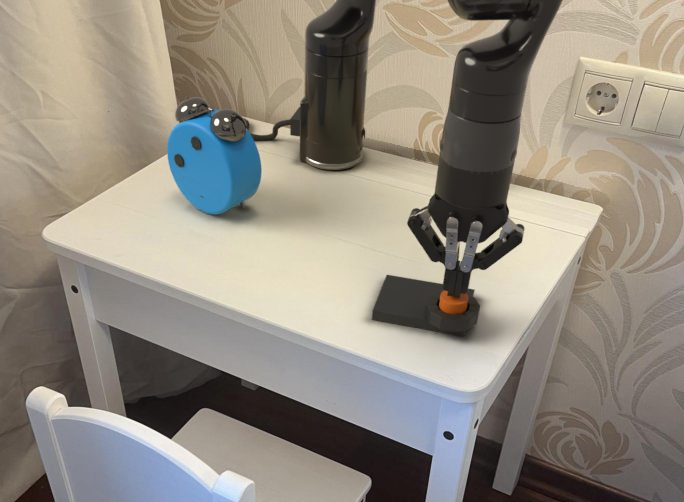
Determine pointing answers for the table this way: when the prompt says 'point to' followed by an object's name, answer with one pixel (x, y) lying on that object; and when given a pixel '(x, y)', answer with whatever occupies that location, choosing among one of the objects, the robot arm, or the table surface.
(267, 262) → the table surface
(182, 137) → the alarm clock
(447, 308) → the tare button
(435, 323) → the scale
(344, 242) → the table surface
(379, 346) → the table surface
